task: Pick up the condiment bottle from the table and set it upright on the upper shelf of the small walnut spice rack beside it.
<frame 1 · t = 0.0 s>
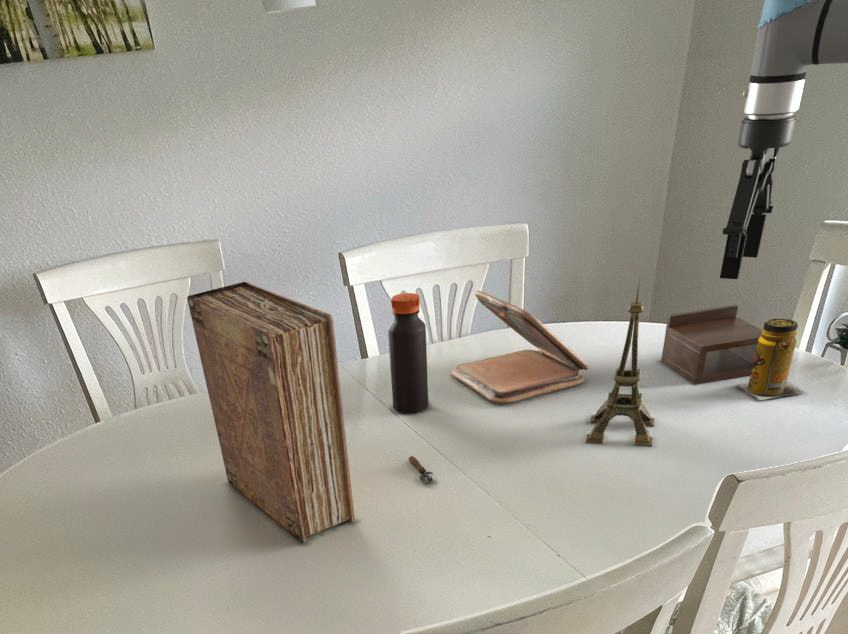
hand: (739, 267, 130), 21 cm above the table, tool pointing down, fingers open, 13 cm apart
case: (517, 380, 155), on the table
spice rack: (710, 367, 151), on the table
book: (288, 503, 123), on the table
vinegar: (410, 408, 148), on the table
eiffel tower: (620, 432, 133), on the table
can opener: (420, 474, 127), on the table
condiment: (770, 391, 141), on the table
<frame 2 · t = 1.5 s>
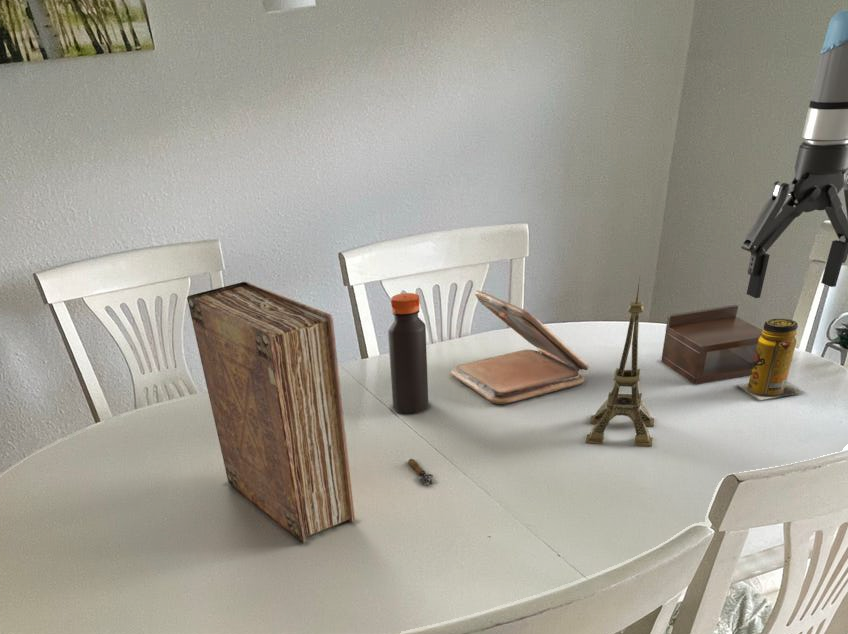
hand: (790, 290, 130), 17 cm above the table, tool pointing down, fingers open, 13 cm apart
nothing on the table moved.
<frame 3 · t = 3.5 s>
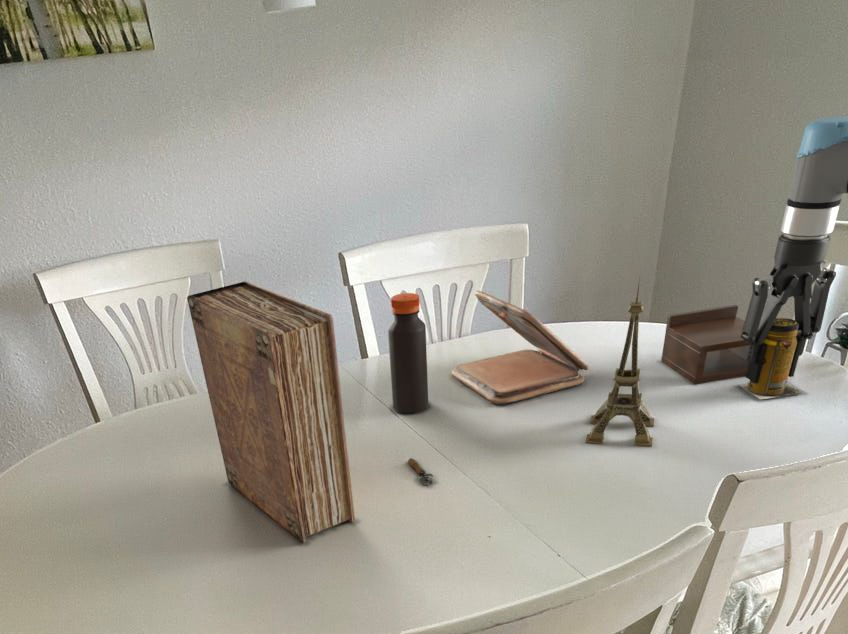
hand: (769, 376, 139), 3 cm above the table, tool pointing down, fingers closed on condiment, 6 cm apart
condiment: (770, 391, 141), on the table, touching gripper
everything else where it was.
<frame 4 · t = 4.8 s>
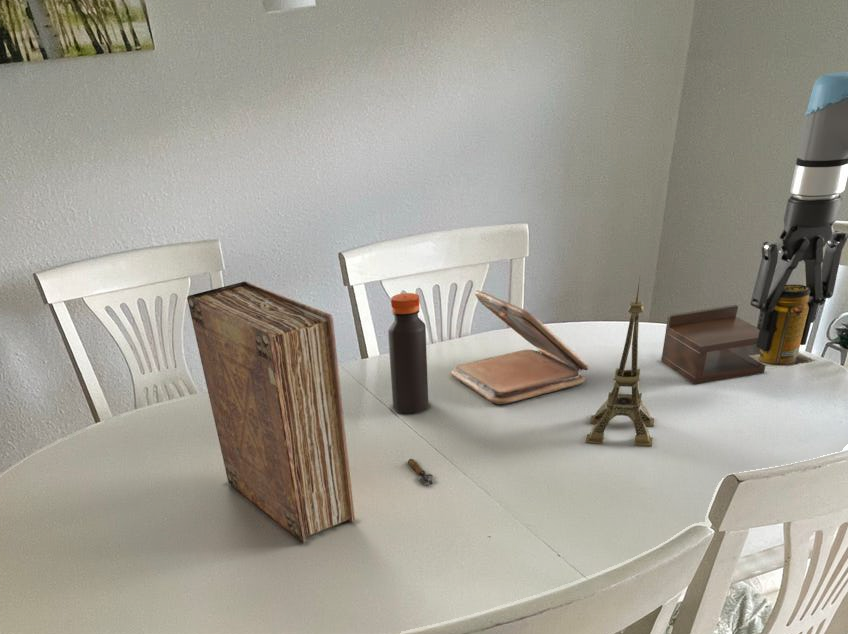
hand: (780, 345, 135), 8 cm above the table, tool pointing down, fingers closed on condiment, 6 cm apart
condiment: (781, 360, 137), point 5 cm above the table, touching gripper
everything else where it was.
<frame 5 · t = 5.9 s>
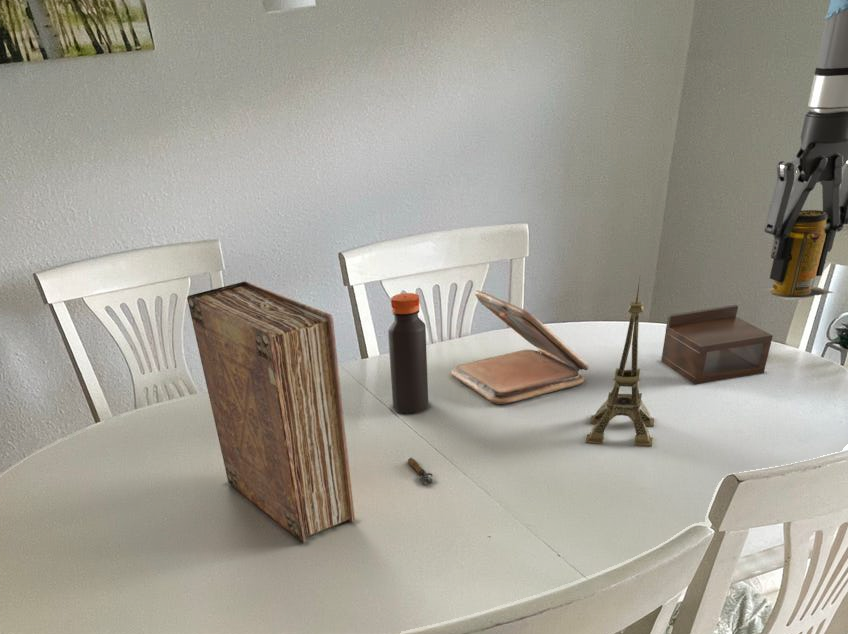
hand: (795, 276, 128), 19 cm above the table, tool pointing down, fingers closed on condiment, 6 cm apart
condiment: (796, 293, 130), point 16 cm above the table, touching gripper
everything else where it was.
when the fingers open (10 cm above the table, at t = 10.7 s): condiment stays where it is, resting on spice rack.
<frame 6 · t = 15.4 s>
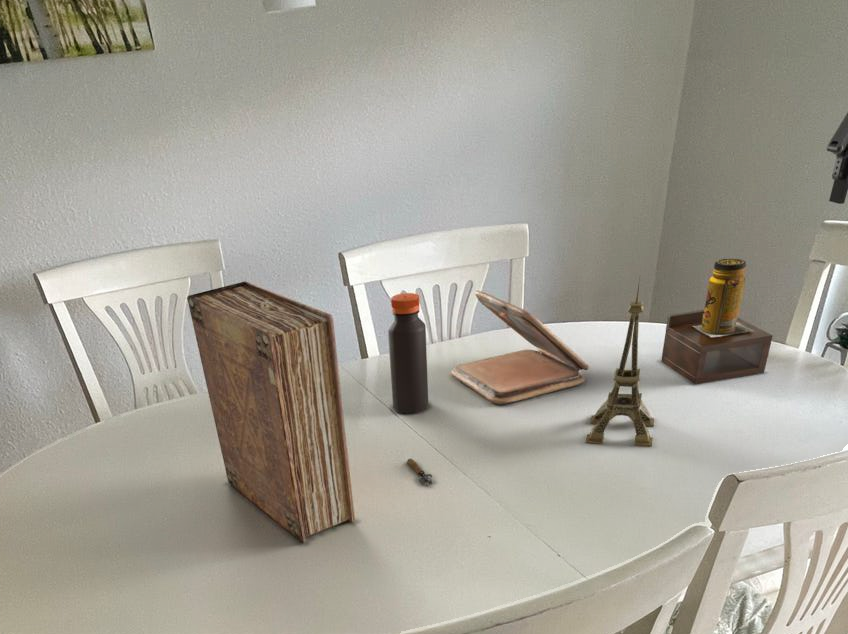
condiment: (722, 330, 147), point 7 cm above the table, touching spice rack
everything else where it was.
at the end: condiment inside the target area (0.8 cm from its centre), point 6.8 cm above the table; condiment tilted 0°; the gripper is holding nothing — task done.
